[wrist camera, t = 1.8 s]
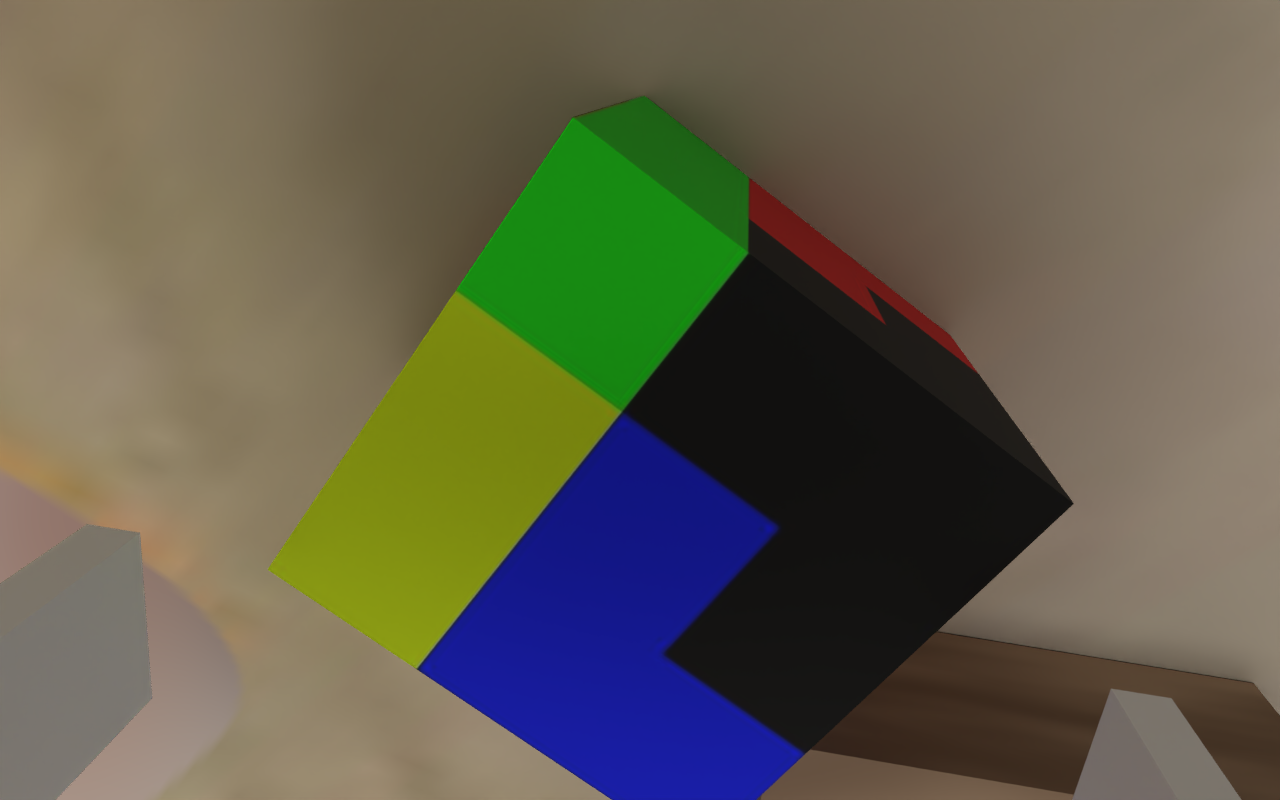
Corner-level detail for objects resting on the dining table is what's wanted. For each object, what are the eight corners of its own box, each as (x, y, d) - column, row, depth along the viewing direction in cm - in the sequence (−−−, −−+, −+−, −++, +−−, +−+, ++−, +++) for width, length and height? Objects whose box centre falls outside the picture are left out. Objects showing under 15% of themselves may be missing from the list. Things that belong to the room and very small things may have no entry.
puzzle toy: (714, 588, 28) (696, 855, 18) (437, 391, 27) (267, 569, 17) (949, 334, 24) (1073, 504, 15) (644, 95, 23) (572, 117, 14)
